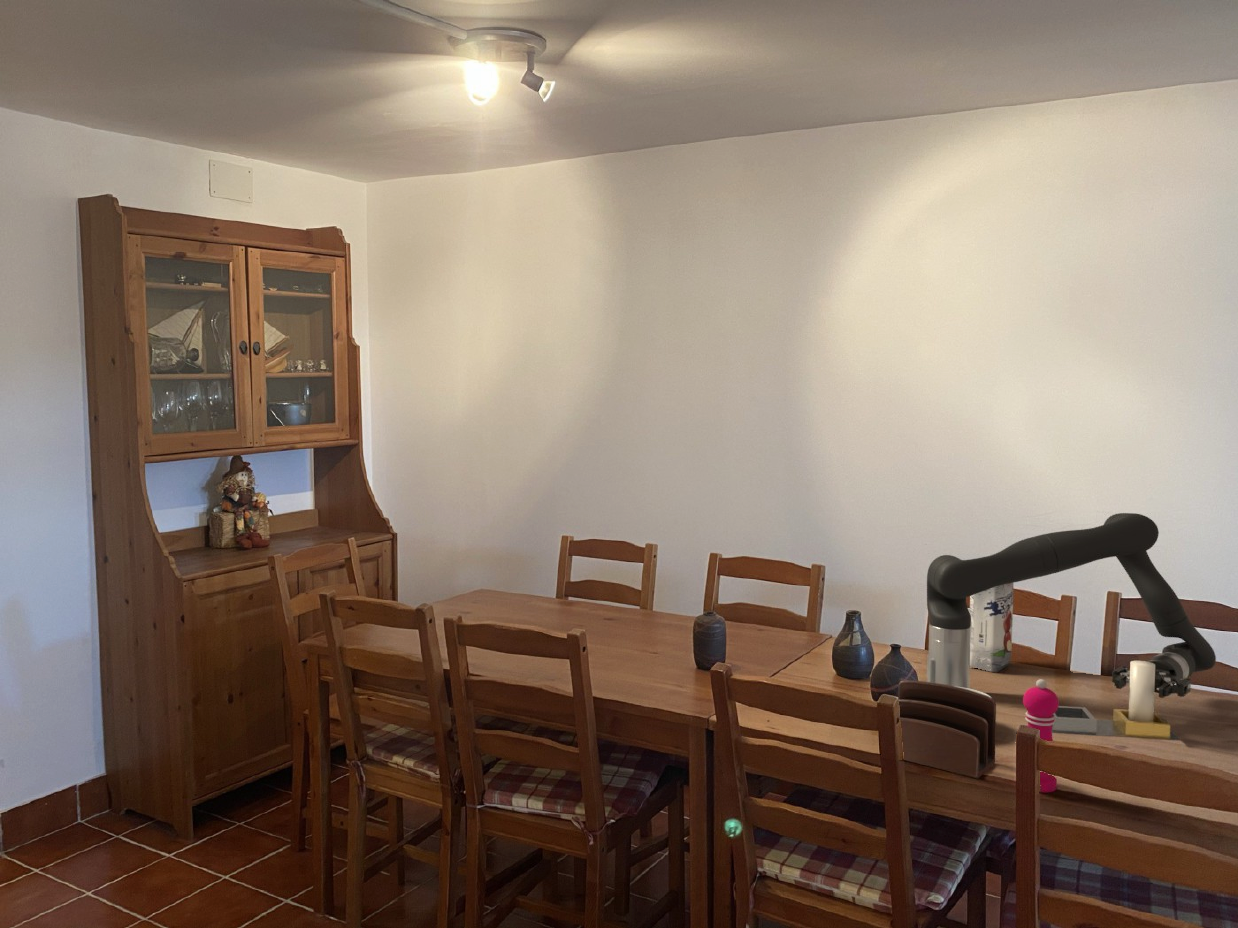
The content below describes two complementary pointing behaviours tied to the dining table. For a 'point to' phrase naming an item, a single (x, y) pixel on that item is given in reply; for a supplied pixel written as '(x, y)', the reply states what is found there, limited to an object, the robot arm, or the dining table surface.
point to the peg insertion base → (1110, 724)
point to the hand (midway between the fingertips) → (1139, 688)
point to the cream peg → (1141, 691)
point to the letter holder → (947, 727)
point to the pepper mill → (1042, 721)
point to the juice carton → (991, 628)
